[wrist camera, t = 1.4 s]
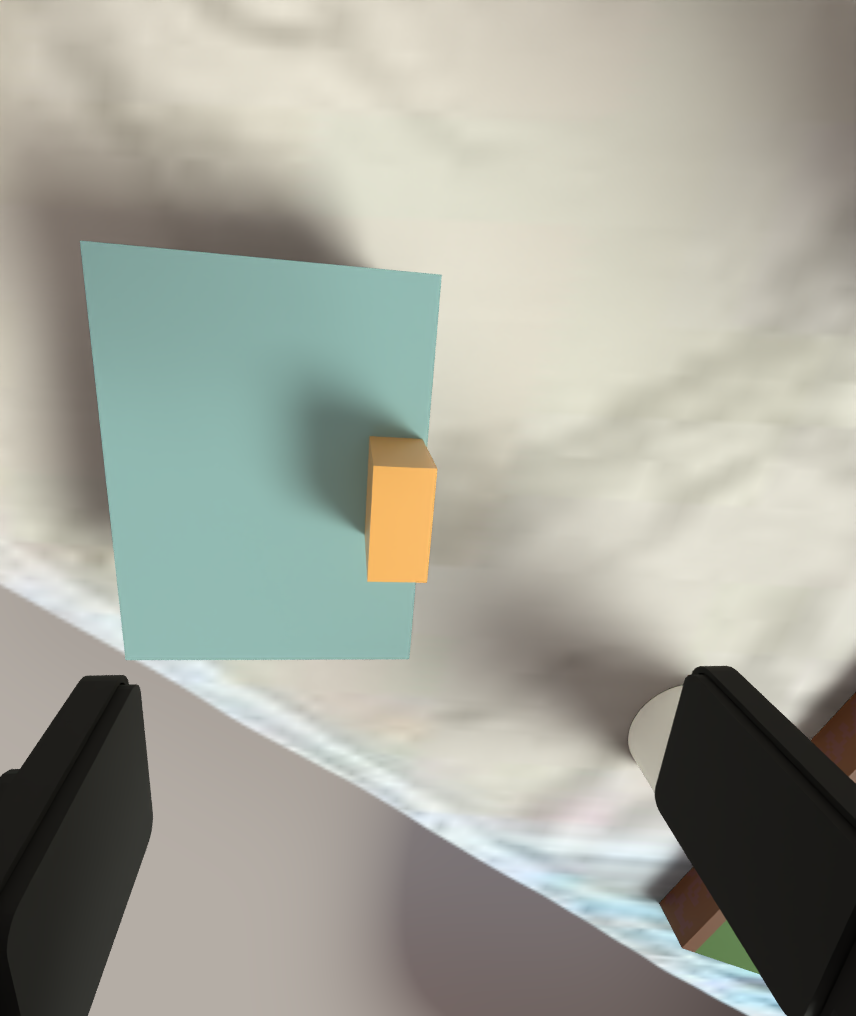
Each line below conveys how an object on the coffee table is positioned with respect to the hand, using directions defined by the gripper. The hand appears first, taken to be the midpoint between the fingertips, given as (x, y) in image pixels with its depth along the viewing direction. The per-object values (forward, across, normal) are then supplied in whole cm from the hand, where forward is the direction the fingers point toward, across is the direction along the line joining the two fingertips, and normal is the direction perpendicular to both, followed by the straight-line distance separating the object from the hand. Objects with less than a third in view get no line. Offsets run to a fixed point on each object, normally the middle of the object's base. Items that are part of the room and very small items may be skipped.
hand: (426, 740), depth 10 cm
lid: (+14, +4, 0) cm, 15 cm away
